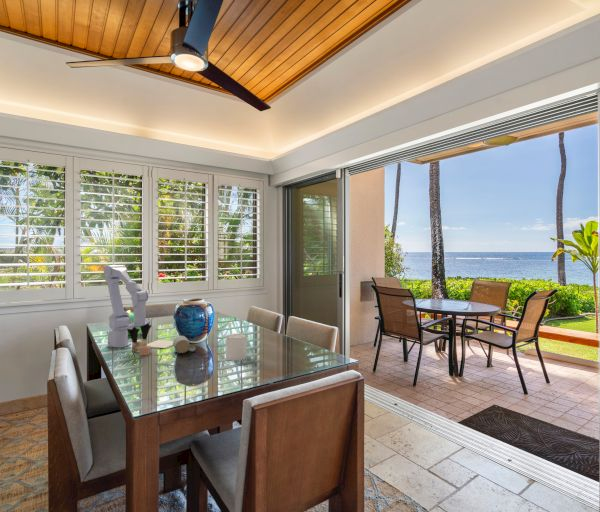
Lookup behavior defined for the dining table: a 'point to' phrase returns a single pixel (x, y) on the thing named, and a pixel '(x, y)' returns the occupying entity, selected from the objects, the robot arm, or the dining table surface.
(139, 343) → the oak cube
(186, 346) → the ceramic mug
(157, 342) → the trivet
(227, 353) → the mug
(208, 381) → the dining table surface
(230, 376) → the dining table surface
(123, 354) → the dining table surface
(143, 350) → the terracotta block
